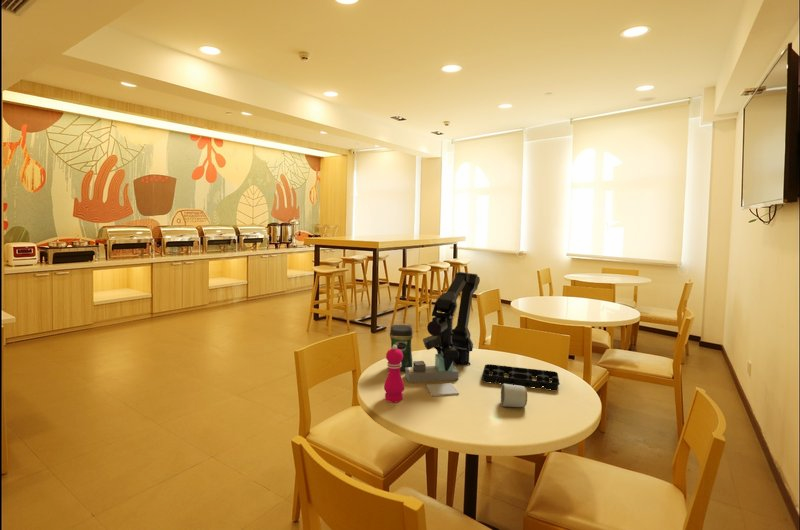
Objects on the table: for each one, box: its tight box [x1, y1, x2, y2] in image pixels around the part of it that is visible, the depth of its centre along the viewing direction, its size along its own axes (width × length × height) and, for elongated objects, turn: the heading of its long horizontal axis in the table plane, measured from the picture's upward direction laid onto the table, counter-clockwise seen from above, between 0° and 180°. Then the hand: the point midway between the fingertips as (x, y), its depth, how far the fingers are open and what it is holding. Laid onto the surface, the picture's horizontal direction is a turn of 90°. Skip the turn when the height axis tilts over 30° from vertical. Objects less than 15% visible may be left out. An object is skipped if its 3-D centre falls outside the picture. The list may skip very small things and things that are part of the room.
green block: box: [434, 353, 454, 372], centre depth 182 cm, size 6×6×7 cm
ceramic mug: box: [500, 383, 528, 408], centre depth 160 cm, size 11×8×8 cm
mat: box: [425, 382, 460, 397], centre depth 171 cm, size 10×9×1 cm
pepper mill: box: [383, 345, 405, 403], centre depth 162 cm, size 7×7×20 cm
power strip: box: [404, 360, 459, 384], centre depth 182 cm, size 20×7×6 cm, turn 101°
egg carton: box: [482, 363, 560, 391], centre depth 181 cm, size 18×30×4 cm, turn 87°
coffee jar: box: [389, 324, 414, 372], centre depth 191 cm, size 10×8×19 cm
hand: (443, 367), depth 183 cm, fingers open, 7 cm apart
